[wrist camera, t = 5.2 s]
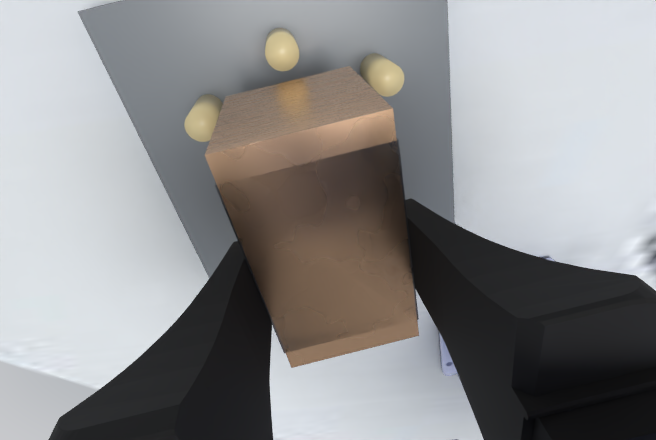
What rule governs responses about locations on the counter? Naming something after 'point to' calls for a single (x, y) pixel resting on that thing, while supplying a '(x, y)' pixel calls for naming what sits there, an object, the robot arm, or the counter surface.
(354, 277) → the tan wooden block
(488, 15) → the counter surface
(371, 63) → the grey peg board
